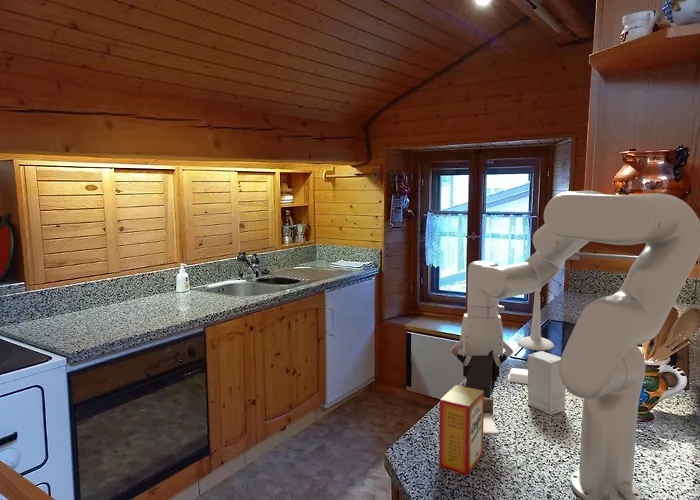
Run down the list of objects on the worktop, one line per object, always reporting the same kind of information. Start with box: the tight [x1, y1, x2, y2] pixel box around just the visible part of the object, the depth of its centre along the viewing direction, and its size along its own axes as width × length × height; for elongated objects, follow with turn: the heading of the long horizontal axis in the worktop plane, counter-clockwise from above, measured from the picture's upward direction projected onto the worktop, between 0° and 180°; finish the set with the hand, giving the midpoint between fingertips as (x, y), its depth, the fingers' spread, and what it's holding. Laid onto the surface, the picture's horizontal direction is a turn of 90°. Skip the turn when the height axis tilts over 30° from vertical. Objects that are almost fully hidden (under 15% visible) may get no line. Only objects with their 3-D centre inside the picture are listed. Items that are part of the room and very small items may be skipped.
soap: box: [507, 367, 528, 385], centre depth 156 cm, size 9×7×3 cm
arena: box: [484, 397, 494, 414], centre depth 128 cm, size 13×10×4 cm
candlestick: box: [517, 285, 555, 352], centre depth 186 cm, size 13×13×30 cm
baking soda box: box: [438, 384, 485, 477], centre depth 110 cm, size 10×6×16 cm
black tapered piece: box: [465, 350, 496, 398], centre depth 125 cm, size 9×6×12 cm, turn 155°
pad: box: [483, 413, 499, 435], centre depth 127 cm, size 10×7×1 cm
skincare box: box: [527, 350, 566, 416], centre depth 135 cm, size 8×6×15 cm
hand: (480, 378), depth 126 cm, fingers closed on black tapered piece, 6 cm apart
